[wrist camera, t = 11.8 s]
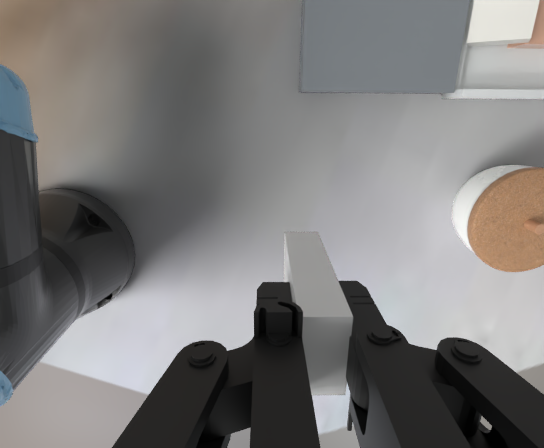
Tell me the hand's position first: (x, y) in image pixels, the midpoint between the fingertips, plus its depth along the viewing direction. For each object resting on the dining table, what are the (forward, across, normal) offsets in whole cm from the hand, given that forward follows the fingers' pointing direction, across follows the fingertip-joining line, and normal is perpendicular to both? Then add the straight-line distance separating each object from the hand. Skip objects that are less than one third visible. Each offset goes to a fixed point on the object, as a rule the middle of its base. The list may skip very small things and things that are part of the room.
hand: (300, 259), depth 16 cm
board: (+24, +10, +15) cm, 30 cm away
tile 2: (+23, +21, +15) cm, 34 cm away
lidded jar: (+25, +24, -4) cm, 35 cm away
